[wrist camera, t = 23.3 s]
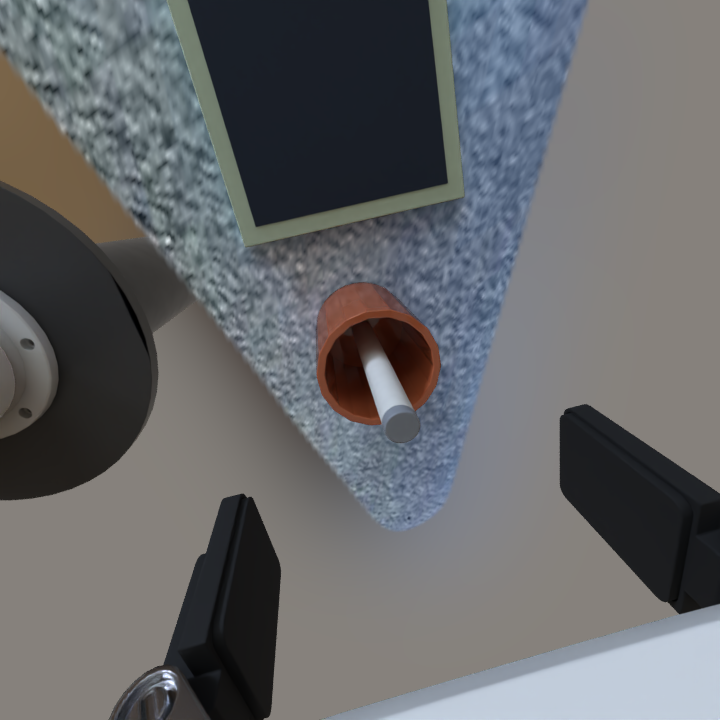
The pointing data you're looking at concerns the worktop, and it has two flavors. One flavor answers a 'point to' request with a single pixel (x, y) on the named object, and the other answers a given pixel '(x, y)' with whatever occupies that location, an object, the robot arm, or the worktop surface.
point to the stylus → (385, 387)
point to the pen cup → (397, 337)
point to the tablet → (324, 108)
